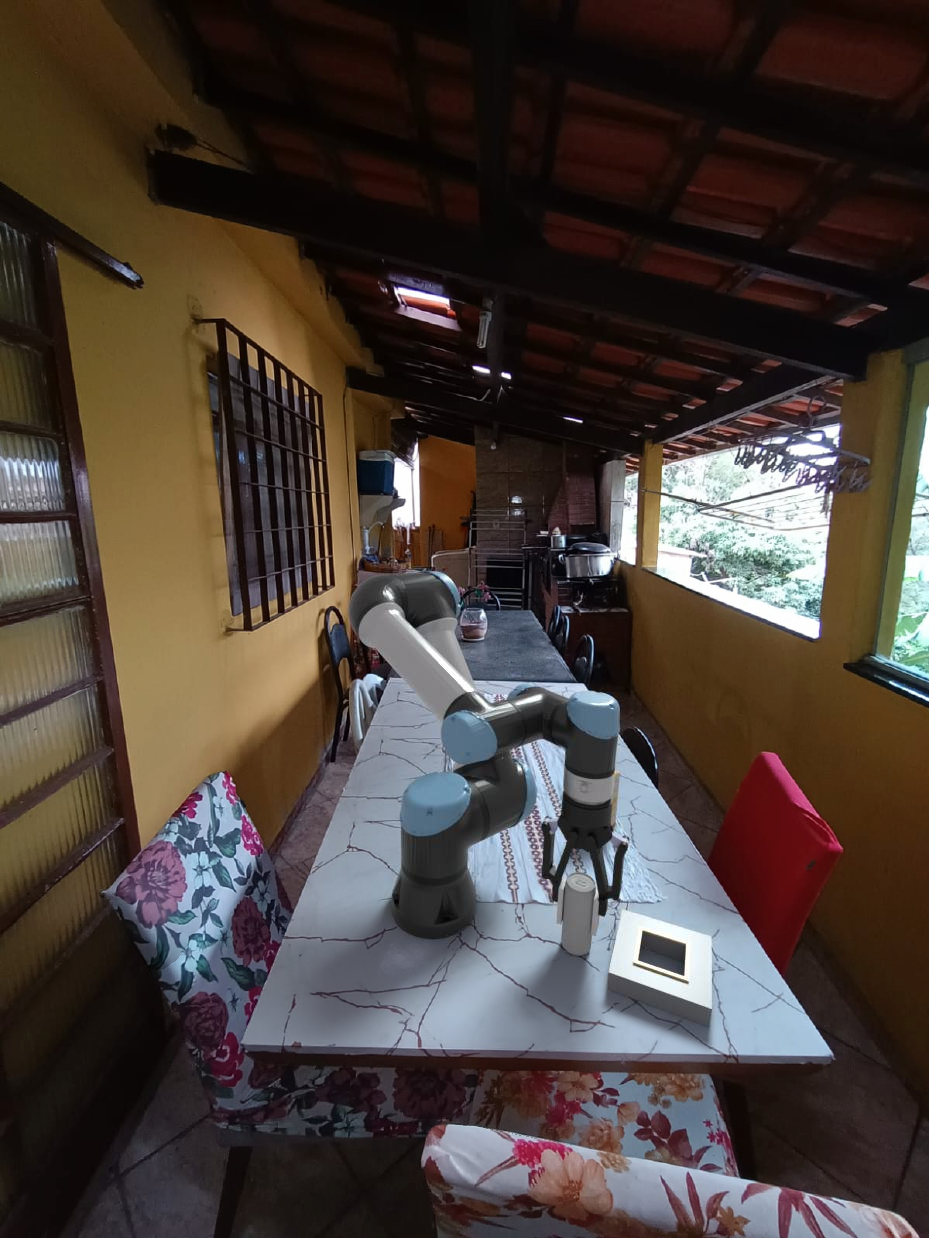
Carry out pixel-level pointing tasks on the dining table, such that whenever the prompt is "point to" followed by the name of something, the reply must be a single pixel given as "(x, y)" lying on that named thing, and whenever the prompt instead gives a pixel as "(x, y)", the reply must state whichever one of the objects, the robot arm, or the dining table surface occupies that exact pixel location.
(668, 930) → the socket plate
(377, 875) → the dining table surface
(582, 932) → the beverage can
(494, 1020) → the dining table surface
